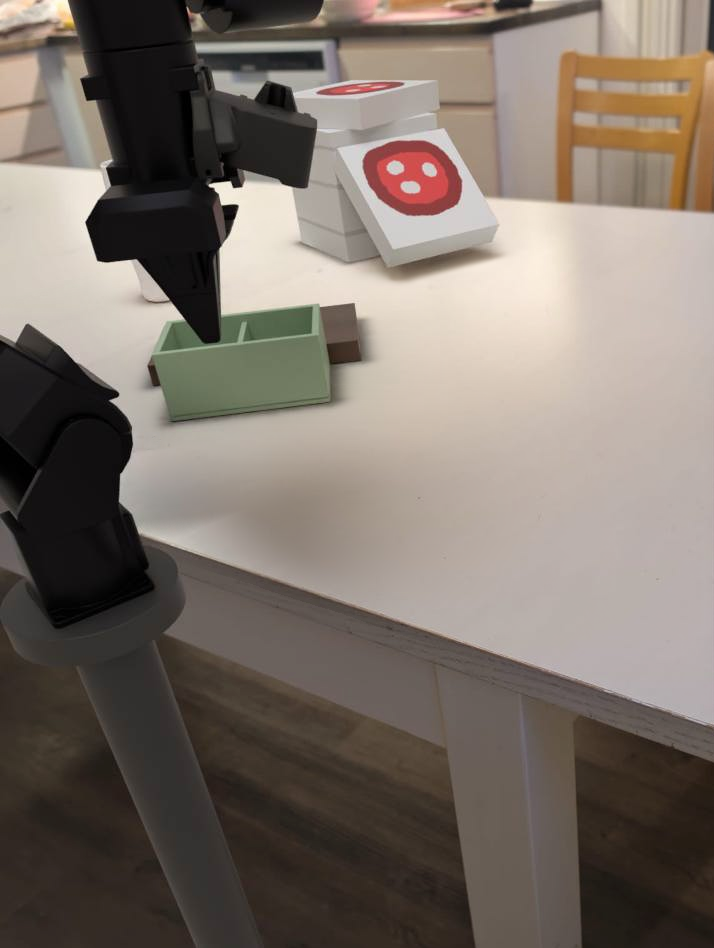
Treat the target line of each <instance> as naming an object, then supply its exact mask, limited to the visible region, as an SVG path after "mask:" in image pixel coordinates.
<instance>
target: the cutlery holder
mask: <svg viewBox="0 0 714 948" xmlns="http://www.w3.org/2000/svg"><path fill="white" fill-rule="evenodd" d="M320 307H321V306H320V303H311V304H303V305H301V304H300V305H294V306H287V307H286V306H284V307H277V308H269V309H262V310H261V309H260V310H259V309H258V310H251V311H244V312H235V313H225V314H221V327H222V336H221V340H220V342H218V343H211V344H204V343H203V342H202V341H201V340H200V339H199V337H198V336H197V335H196V333H195V332H194V331H193V330H192V328H191V327H190V326H189V324H188V323H187V322H186V320H185V319H184V318H183V319H175V320H168V321H166V322H165V324H164V326H163V328H162V330H163V331H162V330H161V332H162V333H160V334H159V337H160V338H159V337H158V339H159V340H157V342H156V345H155V347H154V349H153V351H152V354H151V356H152V357H153V360H154V364H155V367H156V371H157V374H158V377H159V381H160V384H161V385H160V387H161V392H162V395H163V397H164V398H163V399H164V401H165V405H166V408H167V411H168V412H167V413H168V416H169V419H170V422H178V421H179V422H180V421H187V420H194V419H201V418H202V419H203V418H211V417H219V416H225V415H235V414H243V413H252V412H258V411H268V410H275V409H282V408H291V407H292V408H293V407H298V406H308V405H316V404H322V403H330V402H331V364H330V362H329V356H328V351H327V345H326V340H325V334H324V328H323V323H322V317H321V311H320Z"/></svg>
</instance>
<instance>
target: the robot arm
mask: <svg viewBox="0 0 714 948" xmlns="http://www.w3.org/2000/svg"><path fill="white" fill-rule="evenodd" d="M324 1H325V0H67V3H68V7H69V10H70V14H71V17H72V21H73V24H74V29H75V32H76V37H77V39H78V43H79V46H80V50H81V51H82V52H81V53H82V58H83V61H84V64H85V68H86V72H87V75H84V76H82V77H80V78H79V80H80V84H81V87H82V91H83V94H84V98H85V101H86V102H93V101H95V103H96V107H97V110H98V114H99V118H100V121H101V124H102V128H103V131H104V135H105V139H106V142H107V145H108V149H109V152H110V157H111V160H113V161H112V162H111V163H110V164H109V165H108V166H107V167H106V171H107V174H108V178H109V181H110V185H111V186H110V187H109V189H108V190H107V191H106V190H105V192H103V194H102V195H101V196H100V197H99V198H98V199H97V201H96V203H95V204H94V206H93V207H92V209H91V211H90V212H89V215H88V216H87V218H86V219H85V221H84V224H85V227H86V230H87V233H88V237H89V240H90V243H91V246H92V249H93V252H94V256H95V259H96V262H100V263H105V264H109V263H117V262H118V263H119V262H126V261H131V260H136V259H137V261H138V262H139V263H140V264H141V265H142V267H143V268H144V269H145V270H146V271H147V273H148V274H149V275H150V276H151V277H152V279H153V280H154V281H155V282H156V283H157V285H158V286H159V287H160V288H161V290H162V291H163V292H164V293H165V295H166V296H167V297H168V298H169V300H170V301H169V302H171V304H172V305H173V306H174V307H175V309H176V311H178V313H179V314H180V315H181V316H182V318H183V319H185V320H186V322H187V323H188V324H189V326H190V327H191V328H192V330H193V331H194V332H195V333H196V335H197V336H198V337H199V339H200V340H201V341H202V342H203V343H204V344H211V343H218V342H220V340H221V336H222V327H221V315H222V299H221V297H222V296H221V295H222V294H221V291H222V290H221V254H220V253H221V252H220V250H221V248H222V247H223V245H224V243H225V242H226V241H227V239H228V238H229V237H230V235H231V233H232V229H233V227H234V224H235V220H236V218H237V214H238V212H239V208H240V205H239V204H236V203H231V204H222V202H221V201H222V200H221V198H220V193H219V192H217V191H216V189H215V188H216V187H212V186H210V185H212V184H213V185H214V184H220V183H228V182H230V184H231V186H232V189H241V188H243V187H244V185H245V181H246V178H245V173H244V171H245V172H248V173H253V174H256V175H260V176H263V177H267V178H271V179H275V180H278V181H279V182H280V183H281V185H282V186H286V187H290V188H292V187H294V188H300V189H306V188H308V184H309V177H310V171H311V165H312V158H313V152H314V145H315V139H316V133H317V119H315V118H313V117H311V115H310V114H308V113H304V114H302V113H299V112H298V110H297V106H296V102H295V99H294V95H293V93H294V92H293V89H292V87H291V86H289V85H285V84H281V83H278V82H275V81H271V80H266V81H265V82H264V83H263V85H262V87H260V89H259V91H258V93H257V94H256V95H255V97H254V98H250V97H248V96H247V95H245V94H241V93H240V95H236V94H233V93H228V92H225V91H222V90H218V89H216V86H215V81H214V76H213V71H212V68H211V65H210V64H207V65H205V64H206V63H205V60H204V58H199V57H198V52H197V47H196V43H195V39H194V34H193V30H192V29H193V28H192V25H191V21H190V16H189V13H190V14H194V15H200V17H201V18H202V21H203V22H204V23H205V25H206V26H207V27H208V28H209V29H210V30H211V31H212V32H214V33H216V34H218V35H222V34H229V33H230V34H231V33H236V32H237V33H238V32H245V31H251V30H252V31H253V30H254V31H255V30H261V29H268V28H275V27H283V26H290V25H291V26H292V25H298V24H306V23H311V22H313V21H315V20H316V19H317V17H318V16H319V14H321V11H322V8H323V5H324ZM119 397H120V392H119V391H118V390H116V389H115V387H113V386H112V385H110V384H108V383H107V382H106V381H104V380H103V379H102V378H100V377H99V376H97V375H96V374H95V373H94V372H92V371H91V370H90V369H88V368H87V367H85V366H84V365H82V364H81V363H79V362H76V361H75V360H74V359H73V358H72V357H71V356H70V354H68V353H67V351H65V349H64V348H63V347H62V346H61V345H59V344H58V343H57V342H55V341H53V340H52V339H51V338H50V337H48V336H47V335H45V334H44V333H43V332H41V331H40V330H39V329H37V328H36V327H34V326H33V325H31V323H25V325H24V327H23V329H22V330H21V332H20V334H19V336H18V337H17V339H16V341H13V340H12V339H10V338H8V337H5V336H4V335H2V334H0V501H1V502H2V503H3V505H4V506H5V507H6V508H7V510H6V511H3V512H0V521H1V524H2V526H3V528H4V530H5V533H6V535H7V538H8V539H9V543H10V544H11V546H12V548H13V549H12V550H13V552H14V553H15V556H16V558H17V560H18V562H19V565H20V568H21V569H22V572H23V574H24V577H25V576H26V579H27V582H26V583H25V587H26V590H27V592H28V593H29V594H30V596H31V597H32V599H33V600H34V601H35V603H36V604H37V605H38V607H39V608H40V610H41V611H42V612H43V614H44V615H45V617H46V618H47V619H48V621H49V622H50V623H51V625H52V626H53V627H54V628H55V629H61V628H64V627H67V626H69V625H71V624H74V623H76V622H79V621H81V620H83V619H86V618H88V617H91V616H93V615H96V614H98V613H100V612H103V611H105V610H108V609H110V608H112V607H115V606H117V605H120V604H122V603H125V602H127V601H129V600H132V599H134V598H137V597H139V596H141V595H144V594H146V593H149V592H151V591H153V590H154V589H155V586H154V583H153V580H152V579H151V578H150V577H149V576H148V575H147V574H146V573H145V572H144V571H145V570H147V569H148V567H149V562H148V559H147V556H146V554H145V551H144V548H143V545H144V544H143V543H142V539H141V536H140V533H139V530H138V527H137V523H136V522H135V518H134V515H133V513H131V511H129V510H128V509H127V508H126V507H125V505H123V504H122V503H121V502H120V494H121V492H120V491H121V474H123V472H124V470H125V469H126V467H127V465H128V464H129V462H130V460H131V457H132V452H133V448H134V439H133V425H132V424H131V422H130V420H129V417H128V416H127V415H126V414H125V413H124V412H123V411H122V410H121V408H119V407H118V405H116V404H115V403H114V402H112V400H115V399H117V398H119Z"/></svg>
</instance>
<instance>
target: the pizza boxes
mask: <svg viewBox="0 0 714 948" xmlns="http://www.w3.org/2000/svg"><path fill="white" fill-rule="evenodd" d="M293 95H294V99H295V102H296V106H297V110H298V112H299V113H302V114H304V113H308V114H310V115H311V117H313V118H315V119H317V133H316V139H315V145H314V152H313V158H312V165H311V171H310V177H309V184H308V188H306V189H300V188H294V187H291V189H292V196H293V201H294V207H295V212H296V217H297V222H298V223H297V224H298V229H299V234H300V240H301V244H304V245H306V246H308V247H311V248H313V249H315V250H318V251H320V252H322V253H325V254H327V255H329V256H331V257H333V258H336V259H339V260H341V261H344V262H346V263H354V262H357V261H363V260H366V259H367V260H368V259H371V258H374V257H379V256H381V258H382V260H383V262H384V263H385V266H386V267H387V268H392V267H397V266H401V265H404V264H408V263H412V262H416V261H420V260H425V259H429V258H434V257H436V256H437V257H438V256H440V255H446V254H449V253H454V252H458V251H462V250H465V249H470V248H473V247H477V246H481V245H486V244H489V243H492V242H493V240H494V237H495V235H496V233H497V231H498V229H499V227H500V222H499V220H498V219H497V217H496V215H495V214H494V211H493V210H492V208H491V206H490V205H489V203H488V202H487V200H486V198H485V196H484V195H483V192H482V190H481V189H480V187H479V185H478V184H477V182H476V181H475V179H474V177H473V176H472V174H471V172H470V170H469V169H468V167H467V166H466V164H465V162H464V159H463V158H462V156H461V155H460V153H459V152H458V150H457V148H456V146H455V145H454V143H453V141H452V139H451V137H450V136H449V134H448V133H447V130H446V129H445V128H444V127H443V128H438V119H437V114H436V113H433V112H434V111H439V110H441V107H440V106H441V105H440V94H439V81H438V80H437V79H435V80H431V79H429V80H426V79H425V80H423V79H420V80H419V79H417V80H416V79H415V80H414V79H412V80H411V79H410V80H409V79H408V80H407V79H389V80H388V79H351V80H346V81H342V82H337V83H332V84H327V85H323V86H317V87H314V88H308V89H303V90H298V91H294V92H293Z"/></svg>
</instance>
